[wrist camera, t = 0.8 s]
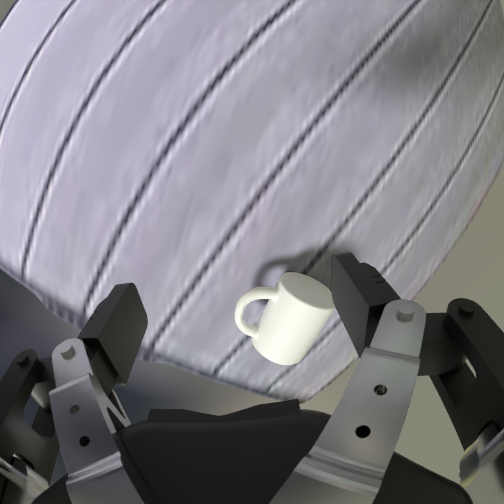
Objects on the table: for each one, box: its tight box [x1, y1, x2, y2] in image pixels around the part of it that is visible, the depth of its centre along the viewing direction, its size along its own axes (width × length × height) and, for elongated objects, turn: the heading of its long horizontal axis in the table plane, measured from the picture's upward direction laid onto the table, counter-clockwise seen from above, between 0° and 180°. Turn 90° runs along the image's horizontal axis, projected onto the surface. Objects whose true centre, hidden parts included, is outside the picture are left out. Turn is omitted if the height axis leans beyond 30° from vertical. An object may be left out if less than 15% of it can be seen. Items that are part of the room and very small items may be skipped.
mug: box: [235, 272, 335, 365], centre depth 36 cm, size 12×10×8 cm
